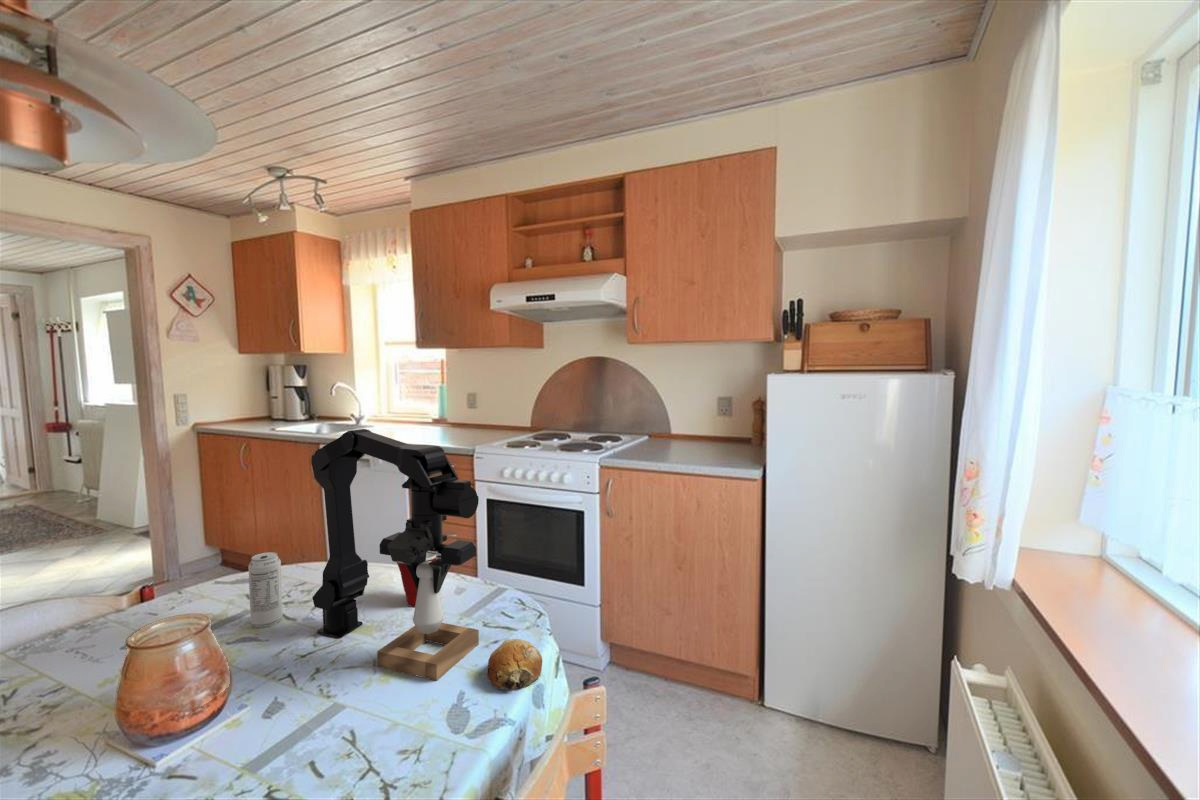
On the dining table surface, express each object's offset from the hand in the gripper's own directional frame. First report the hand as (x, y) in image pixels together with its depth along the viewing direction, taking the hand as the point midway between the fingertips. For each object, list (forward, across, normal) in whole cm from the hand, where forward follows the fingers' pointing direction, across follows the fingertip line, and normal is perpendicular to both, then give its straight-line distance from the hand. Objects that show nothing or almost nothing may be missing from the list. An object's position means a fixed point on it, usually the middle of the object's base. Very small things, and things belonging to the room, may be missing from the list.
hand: (428, 591), depth 101 cm
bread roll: (+13, +19, 0) cm, 23 cm away
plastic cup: (+13, -18, +19) cm, 29 cm away
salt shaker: (+8, 0, 0) cm, 8 cm away
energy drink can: (+13, -43, -1) cm, 45 cm away
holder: (+13, 0, 0) cm, 13 cm away
